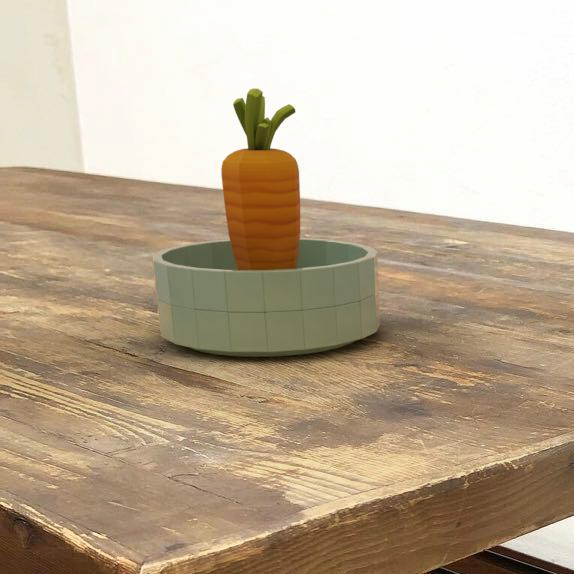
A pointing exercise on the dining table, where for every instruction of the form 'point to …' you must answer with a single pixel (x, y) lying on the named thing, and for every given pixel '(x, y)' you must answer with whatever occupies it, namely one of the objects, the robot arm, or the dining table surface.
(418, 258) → the dining table surface
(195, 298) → the bowl
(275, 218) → the carrot
